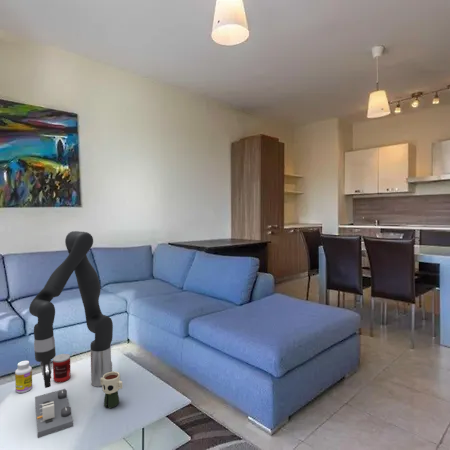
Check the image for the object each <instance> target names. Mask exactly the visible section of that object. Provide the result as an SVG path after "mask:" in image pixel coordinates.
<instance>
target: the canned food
mask: <svg viewBox="0 0 450 450" xmlns="http://www.w3.org/2000/svg"><path fill="white" fill-rule="evenodd" d="M52 371H53V372H52V374H53V375H52V376H53V381H54V383H59V384H61V383H64V382H67V381H68V380H70V378H71V374H72V373H71V372H72V371H71V355H70V354H68V353H60V354H56V355H55V357H54V358H53V359H52Z"/></svg>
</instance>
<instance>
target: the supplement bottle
mask: <svg viewBox="0 0 450 450" xmlns="http://www.w3.org/2000/svg"><path fill="white" fill-rule="evenodd" d="M14 376H15V381H14V382H15V383H14V384H15V392H16V393H18V394H22V393H23V394H24V393H26V392H29V391H31V389H33V368H32V366H31V365H30V361H29V360H22V361H19V362H18V363H17V369H15V371H14Z"/></svg>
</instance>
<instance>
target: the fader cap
mask: <svg viewBox="0 0 450 450" xmlns="http://www.w3.org/2000/svg"><path fill="white" fill-rule="evenodd" d="M42 416H43V421H44V420H47V419H51V418H54V417H55V416H54V401H53V402H49V403H46V404H42Z"/></svg>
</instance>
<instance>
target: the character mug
mask: <svg viewBox="0 0 450 450" xmlns="http://www.w3.org/2000/svg"><path fill="white" fill-rule="evenodd" d="M100 384H101V385H102V386H101V387H102V391H103V393H104V400H103V401H104V402H103V404H104V405H103V407H105V408H109V409H110V408H114V407H116V406H117V405H118V404H119V403H120V397H119V390H122V389H123V386H124V385H123V381H122V380H121V375H120V372H118V371H115V370H114V371H113V370H112V372H108V373H106V374H104V375H103V378H101V379H100Z"/></svg>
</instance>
